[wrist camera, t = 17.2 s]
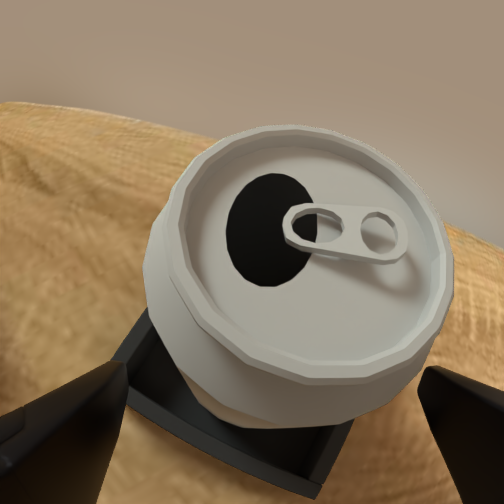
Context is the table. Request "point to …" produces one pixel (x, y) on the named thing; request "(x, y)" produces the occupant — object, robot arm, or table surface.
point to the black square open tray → (221, 432)
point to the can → (297, 277)
